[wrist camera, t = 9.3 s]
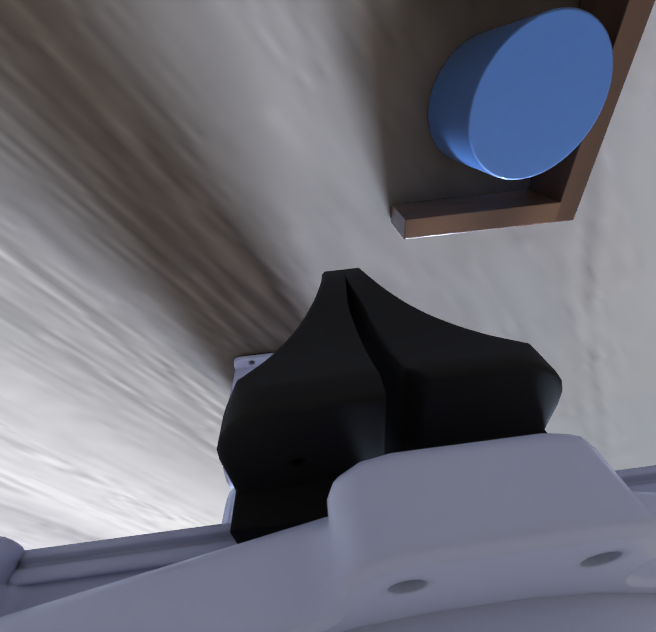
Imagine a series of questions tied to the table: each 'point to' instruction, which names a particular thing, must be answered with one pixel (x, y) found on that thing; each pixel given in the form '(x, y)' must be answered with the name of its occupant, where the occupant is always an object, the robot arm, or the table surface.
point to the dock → (555, 183)
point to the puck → (522, 93)
